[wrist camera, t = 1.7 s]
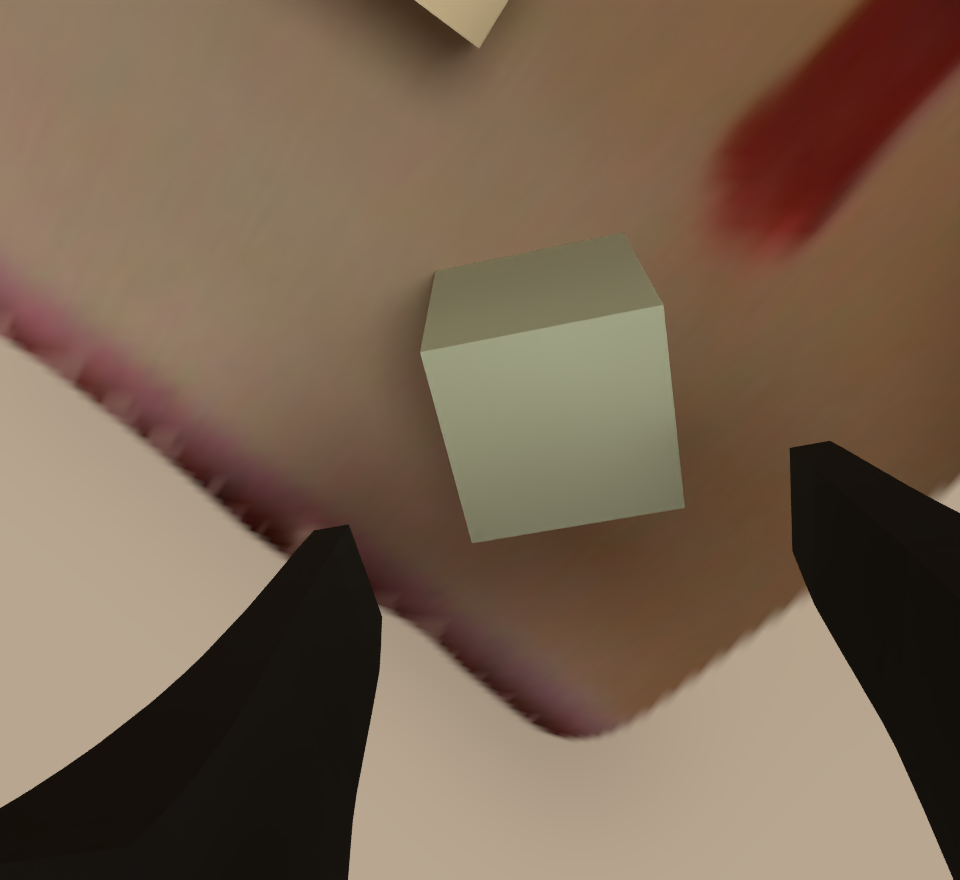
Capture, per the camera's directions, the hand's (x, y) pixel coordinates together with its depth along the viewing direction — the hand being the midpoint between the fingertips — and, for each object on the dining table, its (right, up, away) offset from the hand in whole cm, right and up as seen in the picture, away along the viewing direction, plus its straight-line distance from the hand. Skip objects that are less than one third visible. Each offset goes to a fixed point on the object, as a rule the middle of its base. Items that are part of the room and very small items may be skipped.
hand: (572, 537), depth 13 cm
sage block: (0, +4, +7) cm, 8 cm away
